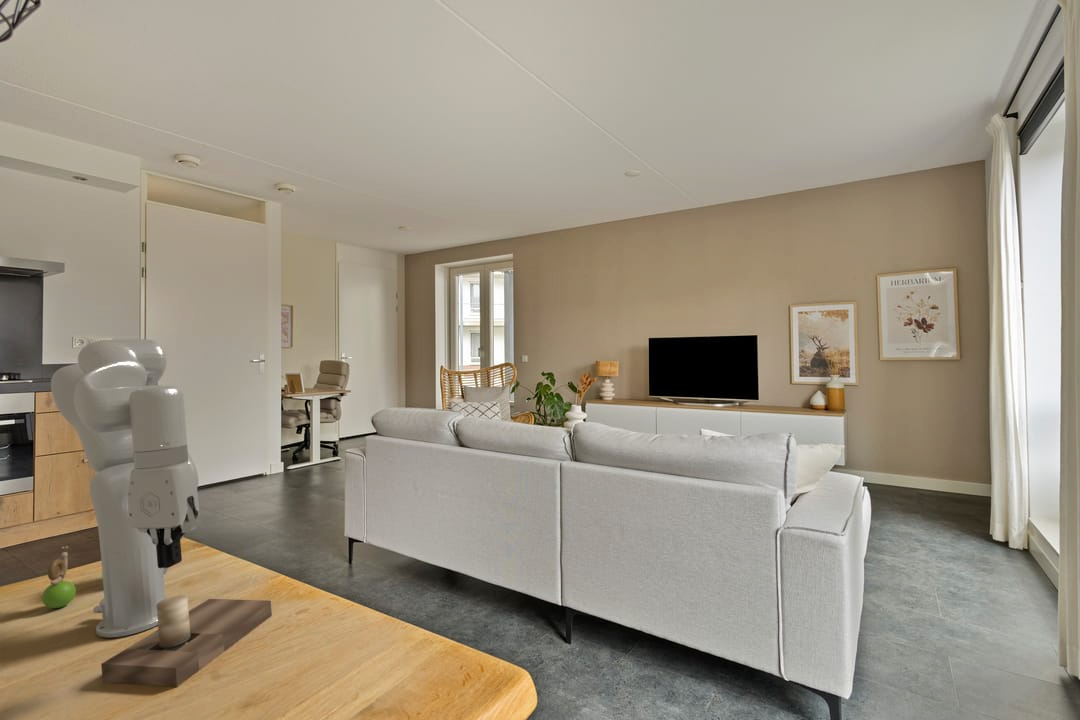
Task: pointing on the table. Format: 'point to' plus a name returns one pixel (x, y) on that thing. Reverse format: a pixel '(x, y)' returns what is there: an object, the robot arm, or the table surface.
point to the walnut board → (210, 636)
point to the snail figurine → (58, 584)
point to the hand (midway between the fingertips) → (170, 564)
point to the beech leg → (173, 622)
